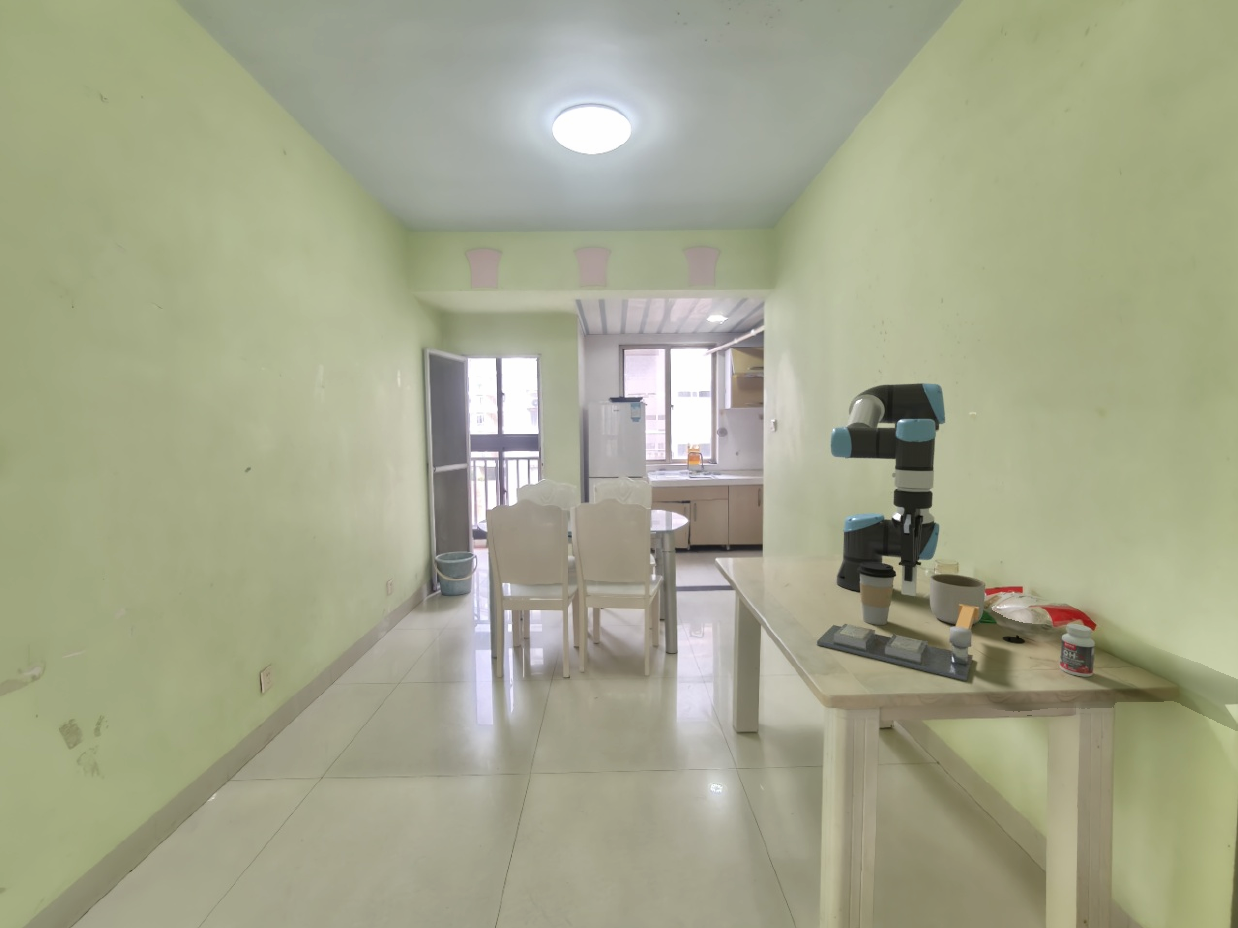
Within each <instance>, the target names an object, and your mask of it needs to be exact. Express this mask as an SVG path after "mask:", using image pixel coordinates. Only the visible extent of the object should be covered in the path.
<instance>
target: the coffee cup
mask: <svg viewBox="0 0 1238 928" xmlns="http://www.w3.org/2000/svg"><path fill="white" fill-rule="evenodd" d="M857 572H858V573H860V591H859V593H860V603H861V611H862V620H863V622H865V623H868V624H871V625H877V626H884V625H885V626H886V624H887V623H888V617H889V614H890V613H889V611H890V607H891V603H892V596H893V590H894V580H895V579H894V578H895V577H896V576H897V573H896V570H894V566H893V565H891V564H888V563H885V562H882V563H879V562H863V563H861V564H860V567H858V570H857Z"/></svg>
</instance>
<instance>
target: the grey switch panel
mask: <svg viewBox="0 0 1238 928" xmlns="http://www.w3.org/2000/svg"><path fill="white" fill-rule="evenodd" d="M816 645H817V646H819V647H820V646H821V647H824V648H829V649H832V650H836V651H841V652H844V653H850V654H852V655H858V656H861V657H865V658H869V659H873V660H877V661H881V662H885V663H890V664H894V665H899V666H902V667H906V668H910V669H914V670H918V671H923V672H927V673H930V674H934V675H937V676H938V675H939V676H943V677H948V678H952V679H956V680H959V681H964V682H967V680H968V676H969V674H970V670H971V666H972V663H973V658H974V657H973V655H972V654H969V647H960V646H956V645H953V644H951V650H950V649H946V648H941V647H937V646H931V645H928V640H922V639H918V638H913V637H908V636H904V635H899V634H892V636H887V635H882V634H877V633H876V629H871V628H867V627H866V628H865V627H862V626H858V625H854V624H852V625H851V624H849V623H844V624H843V625H842V626H841V625H839V626H838V625H837V624H833V625H832V626H830V627H829V629H827V631H826V632H825V633H823V634H822V635H821V636H820V637H819V639H818V640H816Z"/></svg>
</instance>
